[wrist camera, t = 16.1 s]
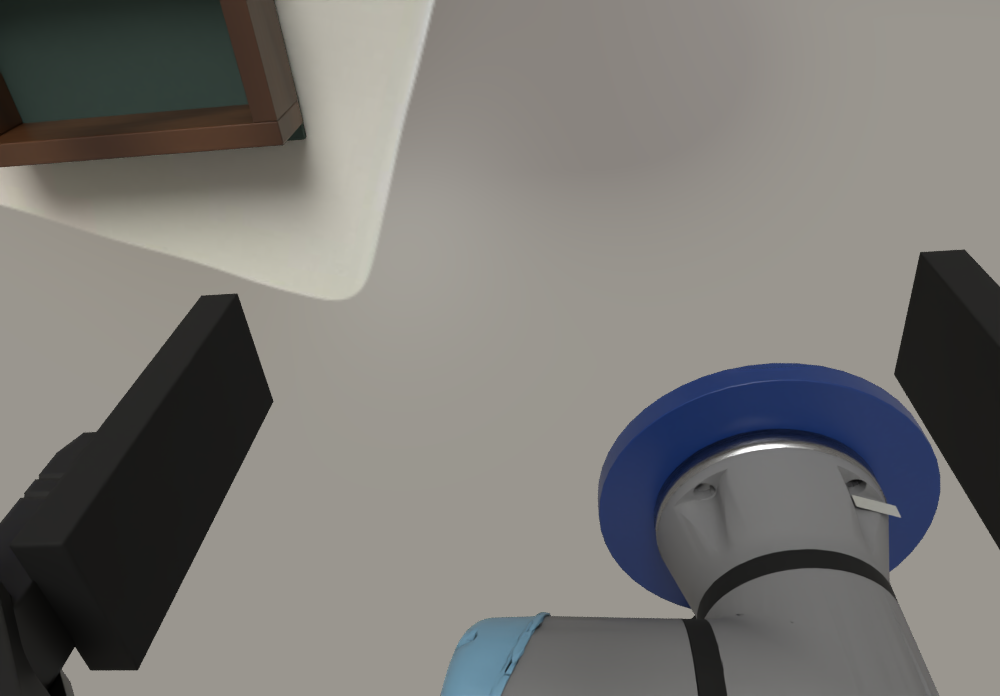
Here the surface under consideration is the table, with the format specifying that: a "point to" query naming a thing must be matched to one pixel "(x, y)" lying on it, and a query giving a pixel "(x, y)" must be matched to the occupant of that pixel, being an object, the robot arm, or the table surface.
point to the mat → (117, 58)
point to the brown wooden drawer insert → (180, 130)
